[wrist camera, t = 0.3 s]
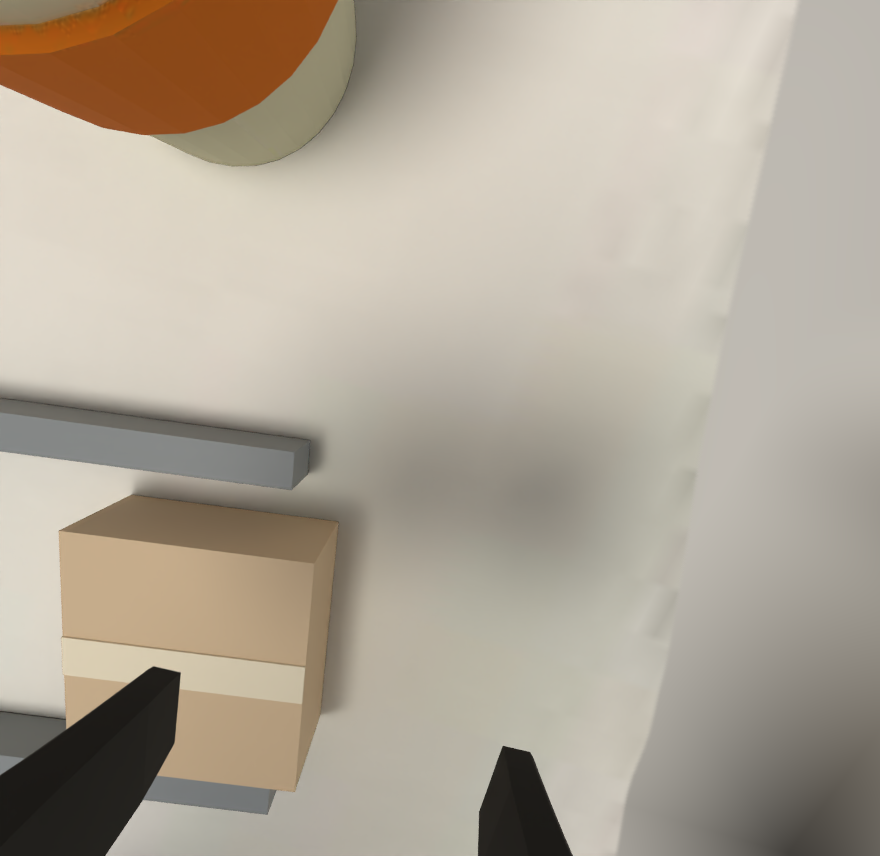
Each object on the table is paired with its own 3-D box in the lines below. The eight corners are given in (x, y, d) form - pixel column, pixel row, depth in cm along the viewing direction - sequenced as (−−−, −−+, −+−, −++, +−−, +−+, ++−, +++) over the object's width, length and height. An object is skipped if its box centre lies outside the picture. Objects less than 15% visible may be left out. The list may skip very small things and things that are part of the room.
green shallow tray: (310, 440, 18) (274, 467, 14) (283, 771, 22) (248, 866, 18) (-189, 372, 18) (-365, 381, 14) (-138, 720, 21) (-269, 806, 17)
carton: (340, 518, 19) (313, 564, 15) (322, 709, 21) (294, 793, 17) (137, 492, 19) (57, 531, 15) (137, 686, 21) (66, 766, 17)
